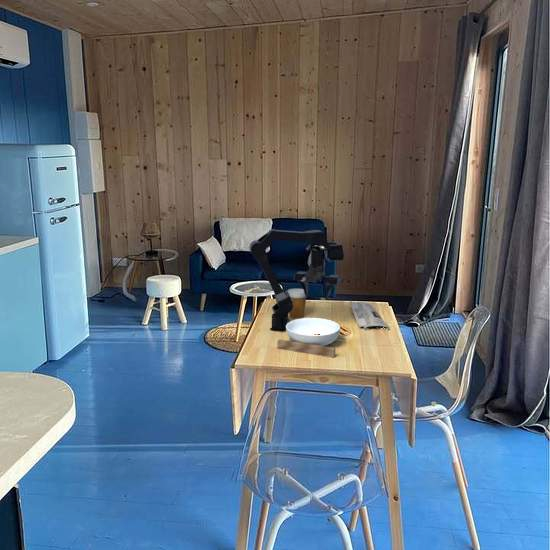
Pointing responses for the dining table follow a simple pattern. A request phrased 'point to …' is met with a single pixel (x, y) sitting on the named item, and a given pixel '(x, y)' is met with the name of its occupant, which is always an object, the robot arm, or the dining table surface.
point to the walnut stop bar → (306, 348)
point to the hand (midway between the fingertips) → (316, 298)
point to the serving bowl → (313, 331)
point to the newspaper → (367, 315)
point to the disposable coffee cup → (297, 303)
